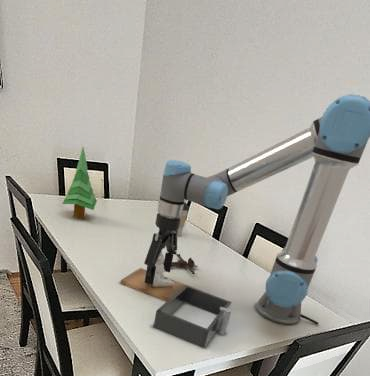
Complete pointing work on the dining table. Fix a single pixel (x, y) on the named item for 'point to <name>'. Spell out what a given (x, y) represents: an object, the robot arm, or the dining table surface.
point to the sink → (187, 328)
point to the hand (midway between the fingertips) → (157, 277)
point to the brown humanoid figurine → (184, 264)
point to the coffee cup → (183, 219)
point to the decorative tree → (81, 190)
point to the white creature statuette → (161, 274)
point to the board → (138, 282)
